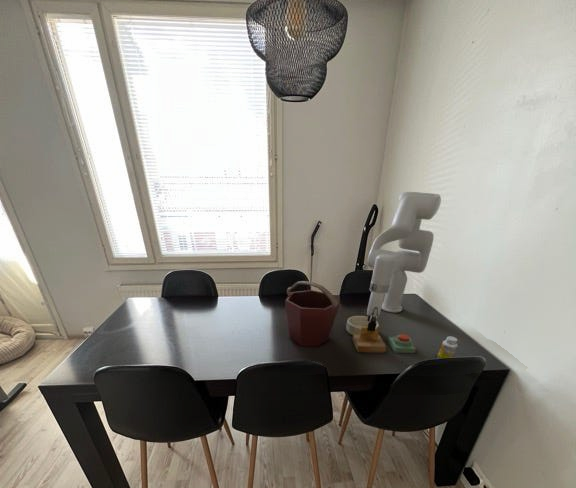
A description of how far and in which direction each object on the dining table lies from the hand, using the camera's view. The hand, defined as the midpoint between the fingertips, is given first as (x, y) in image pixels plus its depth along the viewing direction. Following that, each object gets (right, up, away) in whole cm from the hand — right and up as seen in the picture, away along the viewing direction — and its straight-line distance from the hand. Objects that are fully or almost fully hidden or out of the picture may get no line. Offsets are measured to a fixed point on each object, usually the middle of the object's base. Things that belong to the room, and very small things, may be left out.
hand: (370, 325), depth 127 cm
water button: (+15, -6, +2) cm, 16 cm away
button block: (+15, -9, +4) cm, 18 cm away
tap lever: (0, -5, +4) cm, 6 cm away
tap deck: (0, -8, +5) cm, 9 cm away
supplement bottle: (+30, -15, -3) cm, 34 cm away
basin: (-1, -1, +15) cm, 15 cm away
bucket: (-26, -4, +9) cm, 28 cm away
